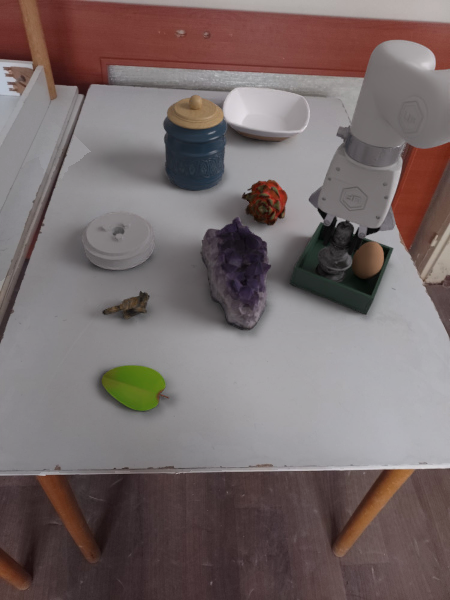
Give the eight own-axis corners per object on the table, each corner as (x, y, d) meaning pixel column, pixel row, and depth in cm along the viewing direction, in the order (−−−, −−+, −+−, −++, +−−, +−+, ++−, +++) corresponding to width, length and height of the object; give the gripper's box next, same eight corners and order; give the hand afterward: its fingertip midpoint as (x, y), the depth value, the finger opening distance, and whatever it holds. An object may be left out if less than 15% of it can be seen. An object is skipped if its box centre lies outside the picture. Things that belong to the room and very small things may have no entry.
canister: (212, 197, 95) (216, 118, 81) (155, 183, 97) (150, 103, 84) (231, 165, 103) (237, 88, 90) (179, 152, 105) (177, 75, 92)
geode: (288, 325, 74) (292, 288, 66) (220, 340, 74) (215, 304, 65) (257, 239, 86) (257, 199, 78) (199, 251, 85) (192, 212, 77)
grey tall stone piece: (323, 256, 82) (339, 202, 73) (352, 270, 80) (373, 217, 71) (307, 274, 79) (323, 220, 70) (337, 289, 77) (357, 237, 68)
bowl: (227, 102, 122) (229, 83, 118) (306, 112, 121) (310, 93, 117) (215, 144, 108) (216, 124, 104) (305, 156, 107) (309, 136, 103)
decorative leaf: (128, 425, 62) (127, 423, 61) (97, 378, 66) (96, 375, 65) (175, 394, 65) (174, 392, 64) (143, 351, 69) (142, 348, 68)
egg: (375, 288, 80) (391, 257, 74) (346, 283, 80) (359, 251, 74) (375, 268, 83) (389, 236, 77) (347, 263, 84) (359, 231, 78)
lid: (115, 284, 78) (111, 264, 74) (71, 248, 83) (65, 227, 79) (168, 249, 84) (167, 229, 80) (125, 217, 89) (122, 197, 85)
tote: (386, 263, 85) (393, 248, 82) (366, 314, 77) (373, 299, 74) (316, 237, 89) (320, 221, 86) (289, 283, 80) (293, 267, 77)
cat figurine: (156, 314, 74) (149, 299, 70) (109, 328, 73) (100, 314, 70) (153, 301, 75) (146, 286, 72) (107, 315, 75) (98, 301, 72)
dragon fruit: (263, 243, 89) (255, 212, 98) (301, 221, 86) (289, 191, 95) (240, 213, 84) (234, 183, 93) (280, 189, 81) (269, 160, 90)
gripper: (306, 140, 60) (284, 241, 74) (430, 178, 56) (382, 278, 70) (324, 116, 65) (300, 216, 79) (440, 150, 61) (393, 249, 75)
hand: (339, 244), depth 74 cm, fingers closed on grey tall stone piece, 3 cm apart
